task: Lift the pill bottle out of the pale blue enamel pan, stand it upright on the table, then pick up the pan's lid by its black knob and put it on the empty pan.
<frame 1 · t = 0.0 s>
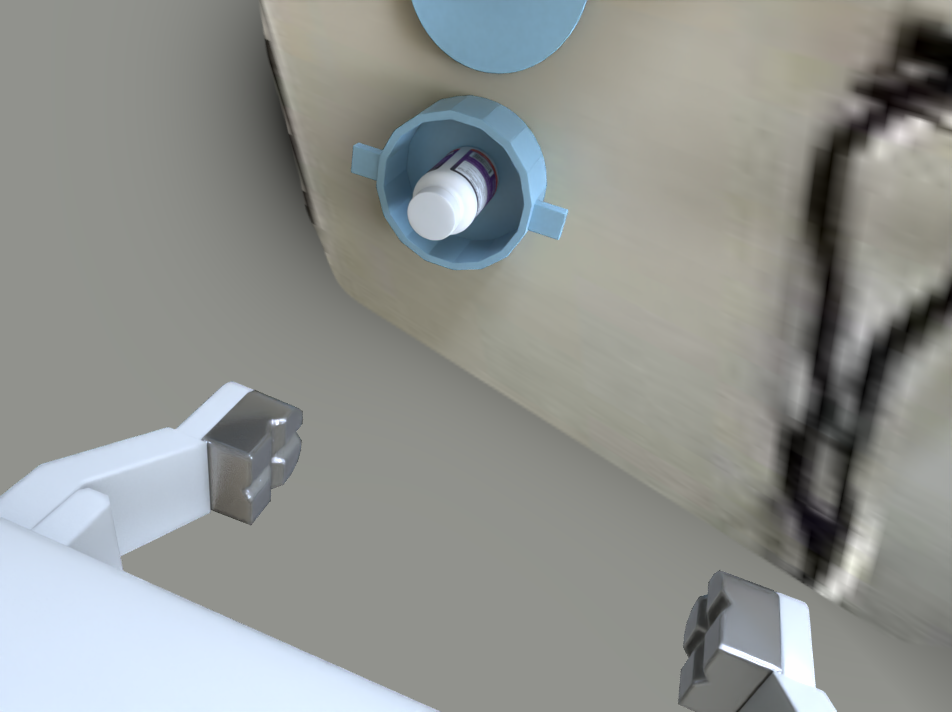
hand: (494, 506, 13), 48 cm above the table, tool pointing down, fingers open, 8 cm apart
pill bottle: (471, 175, 61), resting on pan
pan: (472, 174, 62), on the table
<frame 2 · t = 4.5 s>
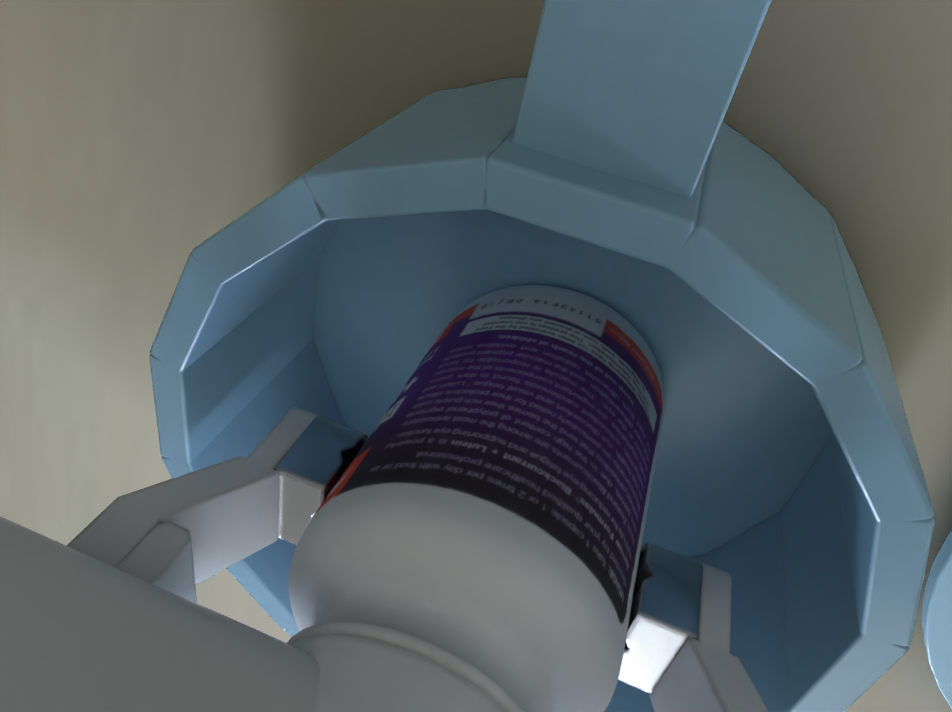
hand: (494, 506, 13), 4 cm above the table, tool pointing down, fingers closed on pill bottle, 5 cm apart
pill bottle: (550, 377, 16), resting on pan, touching gripper
pan: (550, 374, 17), on the table
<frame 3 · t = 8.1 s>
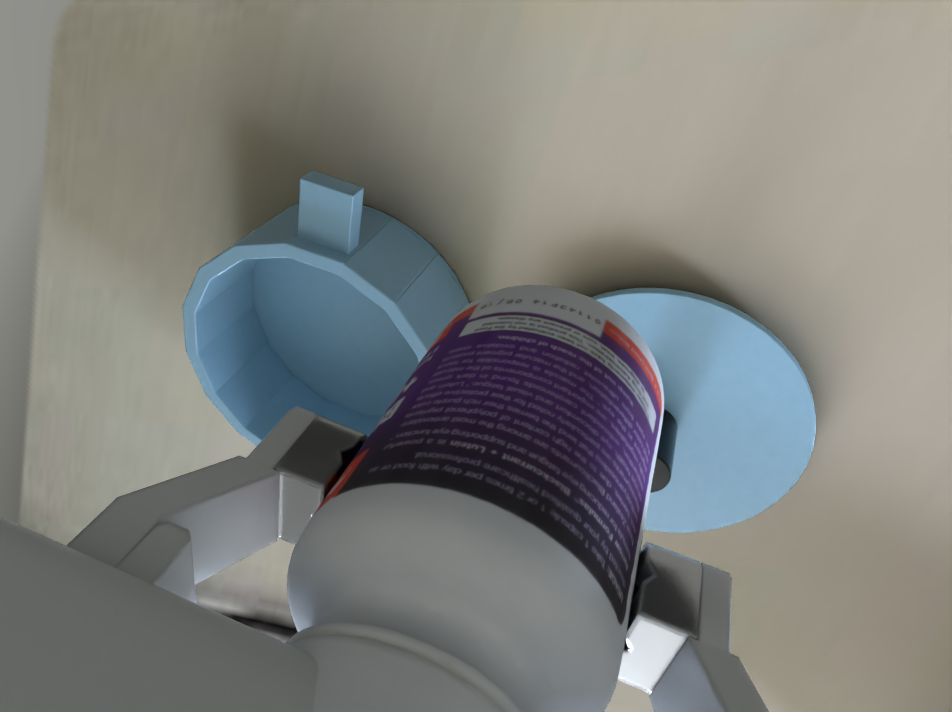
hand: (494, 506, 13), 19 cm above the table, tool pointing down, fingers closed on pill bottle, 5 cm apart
pan lid: (652, 418, 34), point 1 cm above the table
pill bottle: (549, 378, 16), point 15 cm above the table, touching gripper
pan: (357, 320, 37), on the table
when the fingers open (4 cm above the table, at t = 12.0 s): pill bottle stays where it is, on the table.
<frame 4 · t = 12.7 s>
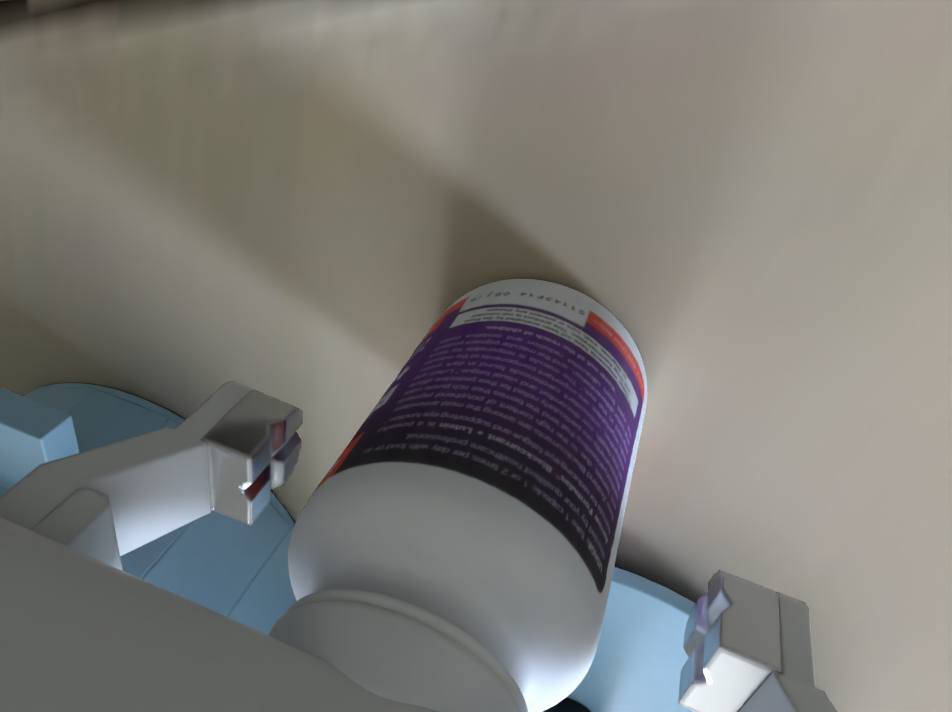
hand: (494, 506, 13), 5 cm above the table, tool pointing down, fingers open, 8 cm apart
pan lid: (566, 702, 23), point 1 cm above the table
pill bottle: (538, 368, 17), on the table
pan: (158, 530, 26), on the table
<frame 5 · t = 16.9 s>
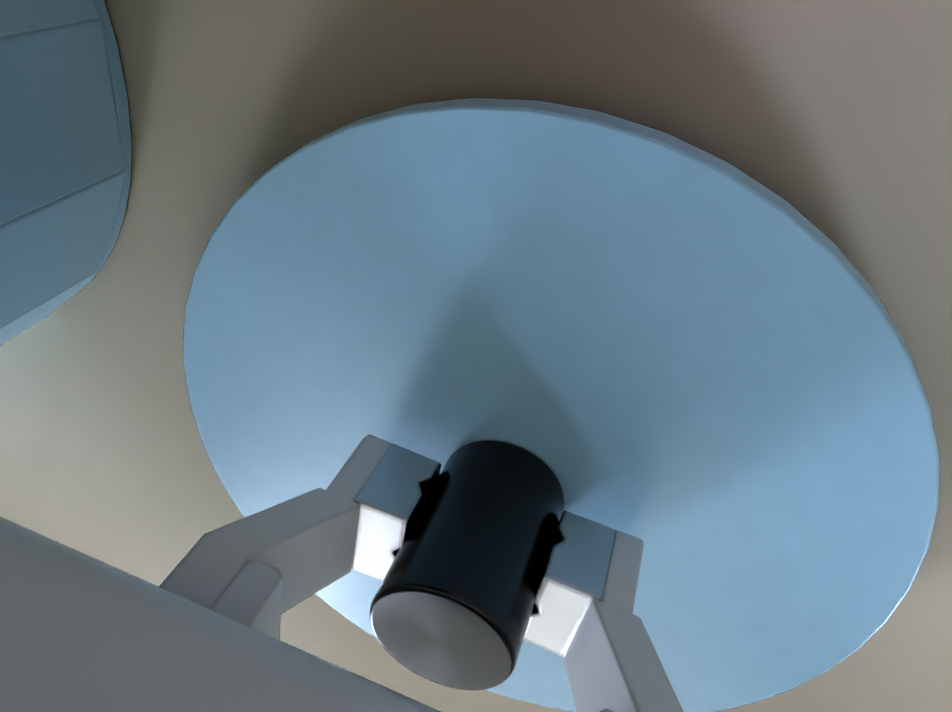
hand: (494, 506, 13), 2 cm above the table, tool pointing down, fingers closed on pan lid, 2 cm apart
pan lid: (510, 470, 14), point 1 cm above the table, touching gripper
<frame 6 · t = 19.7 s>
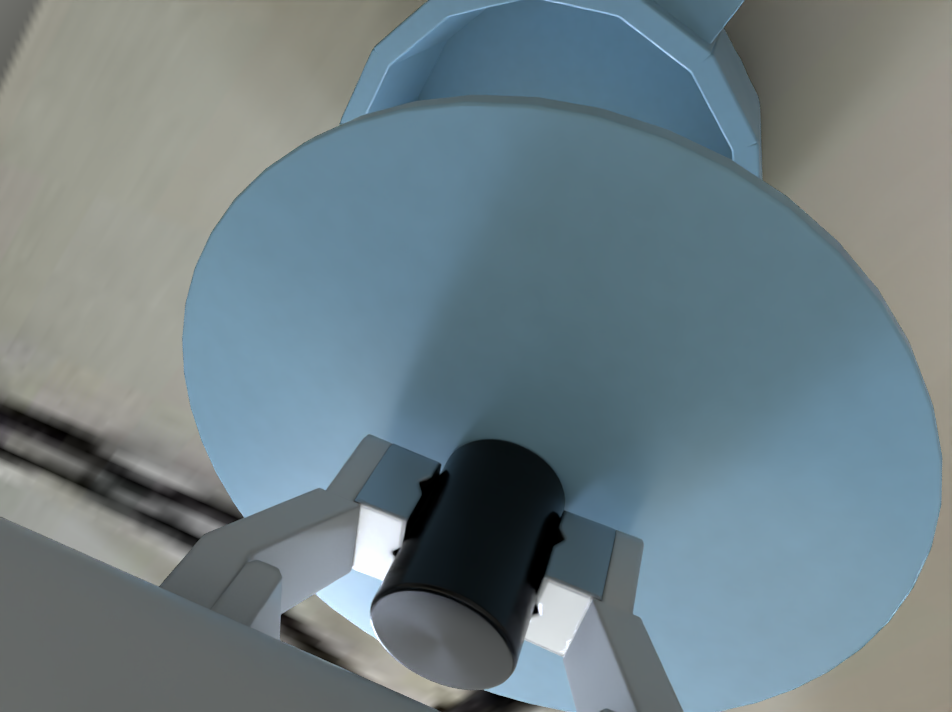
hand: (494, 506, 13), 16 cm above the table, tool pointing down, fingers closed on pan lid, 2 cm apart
pan lid: (511, 469, 14), point 15 cm above the table, touching gripper
pan: (567, 164, 26), on the table
when the fingers open (6 cm above the table, at t = 22.5 s): pan lid stays where it is, resting on pan.
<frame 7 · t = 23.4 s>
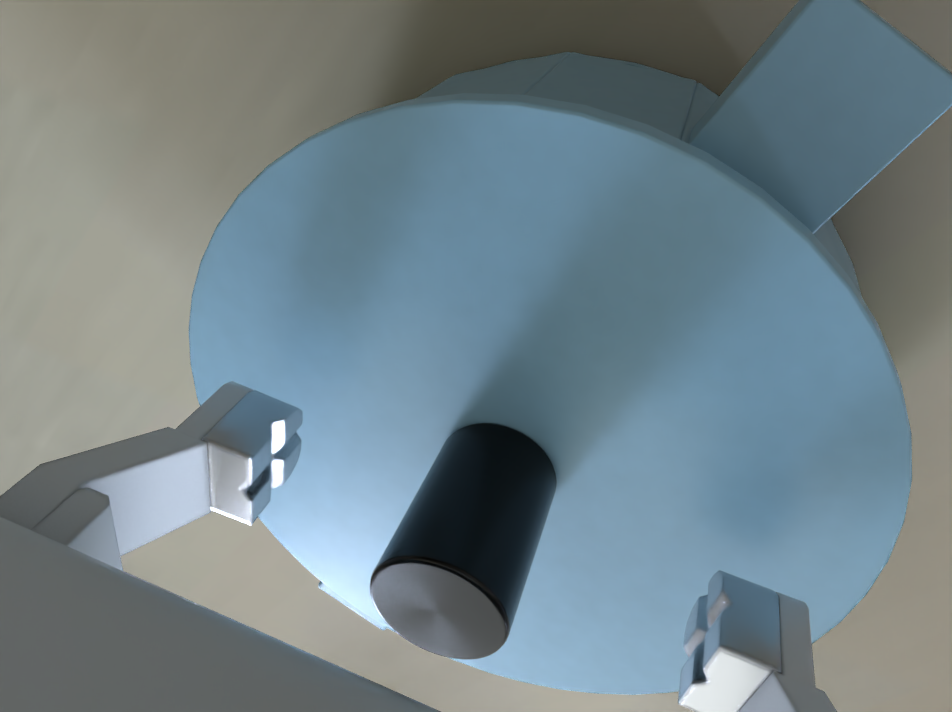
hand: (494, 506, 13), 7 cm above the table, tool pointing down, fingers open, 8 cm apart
pan lid: (505, 453, 14), point 5 cm above the table, touching pan
pan: (564, 326, 18), on the table
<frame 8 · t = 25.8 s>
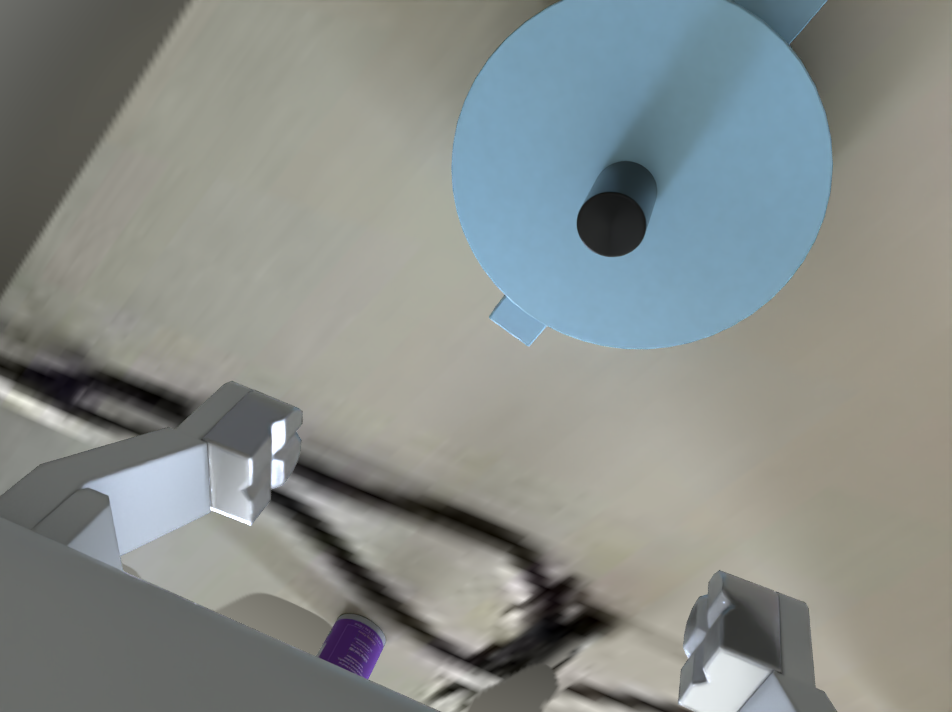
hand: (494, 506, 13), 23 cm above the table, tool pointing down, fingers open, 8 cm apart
pan lid: (627, 186, 27), point 5 cm above the table, touching pan
container: (362, 629, 61), on the table
pan: (646, 147, 31), on the table
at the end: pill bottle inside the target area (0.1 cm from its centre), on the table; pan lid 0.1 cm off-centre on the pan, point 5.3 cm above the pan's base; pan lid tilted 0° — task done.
